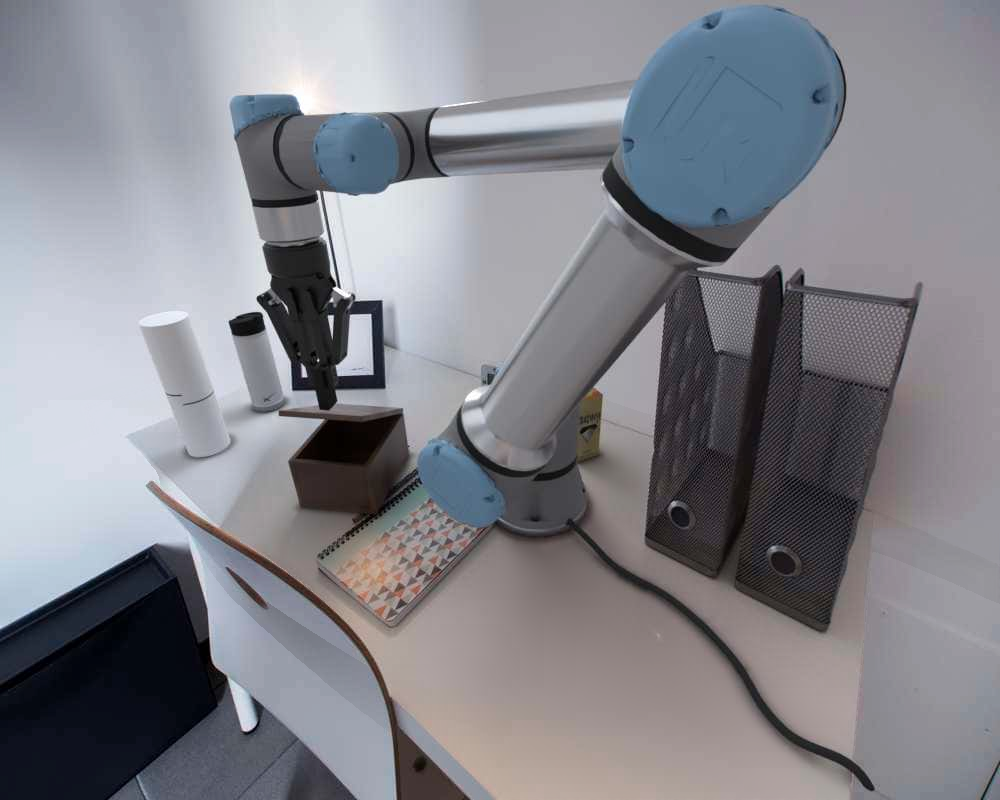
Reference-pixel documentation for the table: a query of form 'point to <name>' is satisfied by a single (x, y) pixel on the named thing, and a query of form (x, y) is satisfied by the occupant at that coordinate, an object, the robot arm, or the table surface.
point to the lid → (342, 412)
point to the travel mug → (257, 361)
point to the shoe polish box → (589, 425)
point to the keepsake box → (350, 464)
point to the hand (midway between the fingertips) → (328, 405)
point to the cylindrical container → (185, 381)
